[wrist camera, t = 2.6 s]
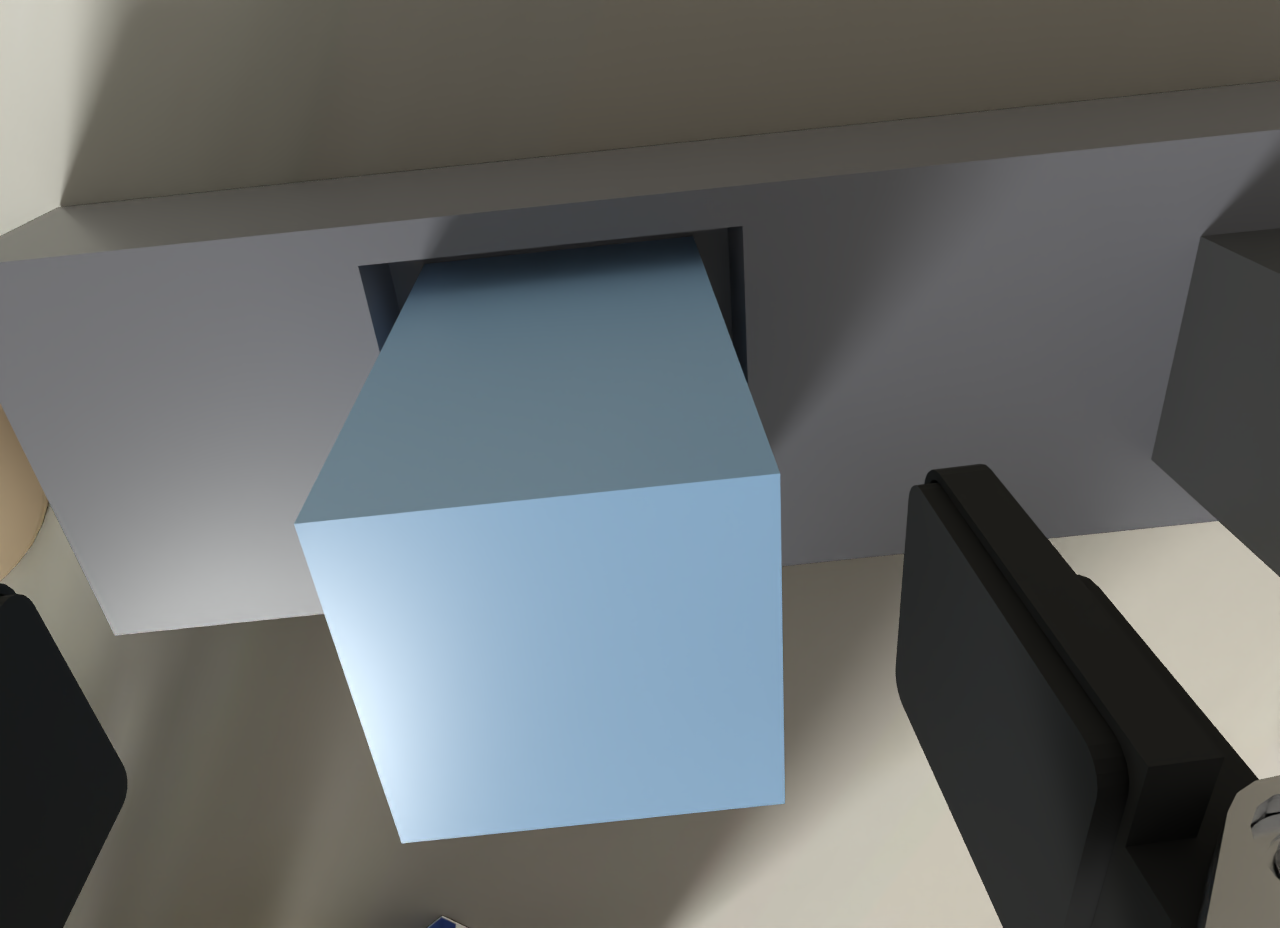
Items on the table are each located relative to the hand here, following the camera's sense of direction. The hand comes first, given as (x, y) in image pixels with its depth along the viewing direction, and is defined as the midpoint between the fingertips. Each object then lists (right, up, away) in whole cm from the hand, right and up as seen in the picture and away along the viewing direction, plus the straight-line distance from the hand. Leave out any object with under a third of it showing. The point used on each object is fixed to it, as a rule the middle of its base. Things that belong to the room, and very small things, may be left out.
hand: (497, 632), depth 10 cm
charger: (0, +4, +7) cm, 8 cm away
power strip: (+9, +5, +8) cm, 13 cm away
